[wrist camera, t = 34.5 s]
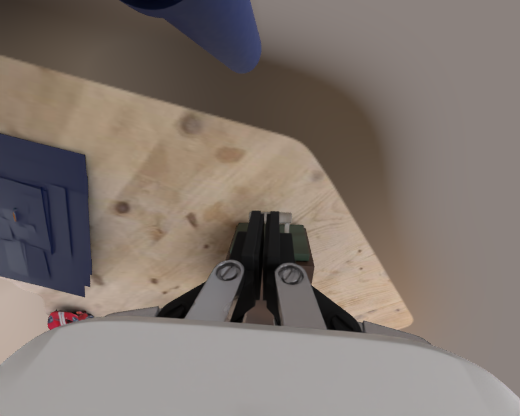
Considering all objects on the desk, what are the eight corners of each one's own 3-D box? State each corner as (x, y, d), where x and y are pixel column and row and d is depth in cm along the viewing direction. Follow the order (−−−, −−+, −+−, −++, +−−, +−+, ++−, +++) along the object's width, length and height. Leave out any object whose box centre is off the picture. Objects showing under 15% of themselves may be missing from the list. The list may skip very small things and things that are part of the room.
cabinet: (236, 225, 33) (224, 262, 25) (305, 228, 32) (314, 266, 24) (241, 281, 39) (232, 323, 32) (298, 284, 38) (304, 328, 31)
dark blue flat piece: (-12, 260, 40) (-38, 271, 37) (-60, 105, 29) (-103, 102, 26) (105, 289, 42) (90, 303, 38) (102, 153, 31) (81, 156, 27)
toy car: (87, 304, 48) (67, 324, 43) (117, 350, 58) (104, 370, 53) (52, 301, 48) (29, 321, 44) (88, 347, 58) (73, 366, 54)
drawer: (237, 197, 29) (226, 221, 23) (306, 199, 28) (314, 224, 22) (242, 276, 37) (236, 309, 31) (297, 279, 36) (300, 314, 30)
